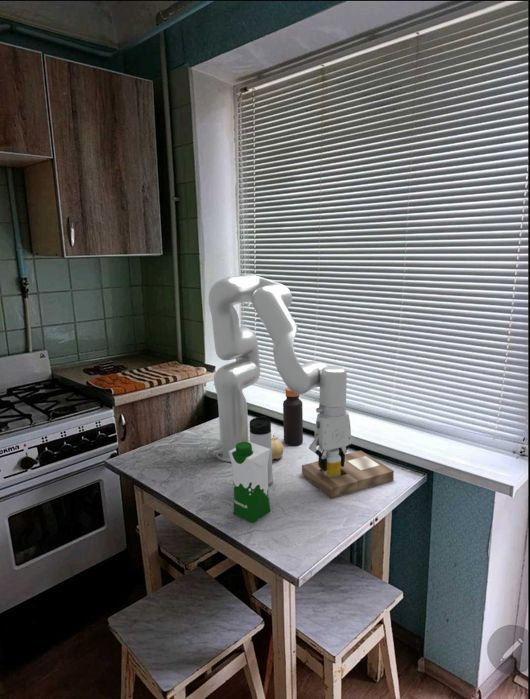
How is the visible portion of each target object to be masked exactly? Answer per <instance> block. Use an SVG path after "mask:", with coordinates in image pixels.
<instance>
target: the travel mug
mask: <svg viewBox="0 0 530 699" xmlns="http://www.w3.org/2000/svg"><path fill="white" fill-rule="evenodd" d="M271 422H272V421H271V419H270V418H268V417H267V416H266V415H260V416H258V417H254V418H252V419H251V420H250V421H249V442H252V443H255V444H257V445H260V446H263V447H266V448H269V449H270V454H269V459H268V488H269V487H271V486H272V485H273V481H274V480H273V460H272V442H271V439H272V423H271Z"/></svg>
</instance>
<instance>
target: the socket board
mask: <svg viewBox="0 0 530 699" xmlns="http://www.w3.org/2000/svg"><path fill="white" fill-rule="evenodd" d="M394 472H395V471H394V470H393V469H392V468H390V467H388V466H386V464H384V463H383V462H380V461H379V460H377V459H375V458H374V457H372V456H371V455H369V454H367V453H365V452H364V451H362V449H361V450H357V451H353V452H350V453H346V454H345V462H344V466H343V467H342V466H341V476H338V477H334V478H331V479H330V478H328V477H327V476H326V475H324V474H323V473H322V469H321V468H320V467H319V460H318V461H314V462H310V463H305V464H302V465H301V475H303V477H305V478H306V479H307V480H308V481H309V482H310V483H311V484H313V485H314V486H315V487H316V488H317V489H319V490H320V491H321V492H322V493H323V494H324V495H325V496H327V497H328V498H329V499H330V500H332V499H335V498H338V497H341V495H342V496H344V494H345V495H348V494H352V493H355V492H359V491H362V490H365V489H368V488H372V487H375V486H378V485H381V484H385V483H388V482H392V481H394Z"/></svg>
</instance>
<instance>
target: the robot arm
mask: <svg viewBox="0 0 530 699" xmlns="http://www.w3.org/2000/svg"><path fill="white" fill-rule="evenodd" d="M247 302H251V304H252V306H253V307H252V308H254V310H255V312H256V313H257V315H258V317H259V319H260V321H261V323H262V324H263V326H264V328H265V329H266V331H267V333H268V335H269V337H270V339H271V340H272V344H273V345H272V347H273V349H272V350H273V360H274V364H275V368H276V369H277V372H278V374H279V375H280V377H281V379H282V381H283V383H284V384H285V386H286V388H289V389H290V390H291V391H292V392H294V393H296V394H300V395H302V394H306V393H308V392H310V391H311V390H313V389H316V388H318V387H319V404H318V407H317V408H316V409H315V411H316V413H317V416H316V420H315V426H314V439H313V441H312V442H311V444H310V445H309V447H308V449H309V450H310V451H312V452H313V453H314V454H316V456H318V461H319V467H320V468H321V469H322V470H323V471H326V470H327V459H326V458H325V456H326V453H327V451H328V450H333V449H337V448H339V455H340V457H341V466H342V467H343V466H344V462H345V454H348V453H347V452H348V449H349V448H350V446H351V445H352V444H353V443H354V441H355V437H353V435H352V432H351V431H352V430H351V429H352V428H351V427H352V426H351V421H350V420H351V419H350V415H349V413H348V411H347V382H348V381H347V379H348V378H347V377H348V376H347V370H346V369H345V368H344V367H342V366H340V365H339V366H338V365H329V364H325V363H322V362H319V361H308V362H306V363H304V364H300V361H299V360H298V358H297V356H296V353H295V349H294V343H295V338H296V336H297V333H298V330H299V327H298V325H297V323H296V322H295V319H294V318H293V316H292V314H291V313H290V310H289V309H288V308H290V307H291V305H292V303H293V295H292V292H291V291H290V289H289V288H288V287H287V286H286V285H284V284H282V283H280V282H277V281H274V280H271V279H268V278H265V277H263V276H262V277H261V276H259V275H255V274H244V275H235V276H234V275H233V276H228V277H225V278H221V279H220V280H217V281H216V282H215V283H214V284H213V285H212V286H211V288H210V290H209V293H208V306H209V312H210V315H211V316H210V317H211V321H212V323H211V324H212V331H213V333H212V334H213V342H214V350H215V354H216V355H217V357H218V358H219V360H222V361H230V360H231V361H232V360H234V361H233V362H230V363H226V364H224V365H222V366H221V367H219V368H218V369H217V370H216V371H215V373H214V375H213V384H214V387H215V391H216V396H217V405H218V421H219V422H218V424H219V441H217V444H216V445H214V446H208V447H206V454H212V455H214V456H216V458H217V459H219V461H220V460H221V461H224V462H228V463H231V459H230V455H229V451H230V450H232V449H234V448H236V445H237V444H238V443H241V442H250V439H249V422H248V420H249V418H248V417H249V416H248V402H247V400H246V396H245V395H244V392H243V390H244V389H246V388H248V387H250V386H253V385H254V384H255V383H257V381H258V380H259V379H260V376H261V365H260V364H261V363H260V354H259V342H258V338H257V336H256V334H255V333H254V331H253V330H252V329H250V328H249V327H246V326H240V318H239V314H238V313H237V310H236V309H235V307H234V305H237V304H244V303H247ZM317 447H318V449H317Z"/></svg>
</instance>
